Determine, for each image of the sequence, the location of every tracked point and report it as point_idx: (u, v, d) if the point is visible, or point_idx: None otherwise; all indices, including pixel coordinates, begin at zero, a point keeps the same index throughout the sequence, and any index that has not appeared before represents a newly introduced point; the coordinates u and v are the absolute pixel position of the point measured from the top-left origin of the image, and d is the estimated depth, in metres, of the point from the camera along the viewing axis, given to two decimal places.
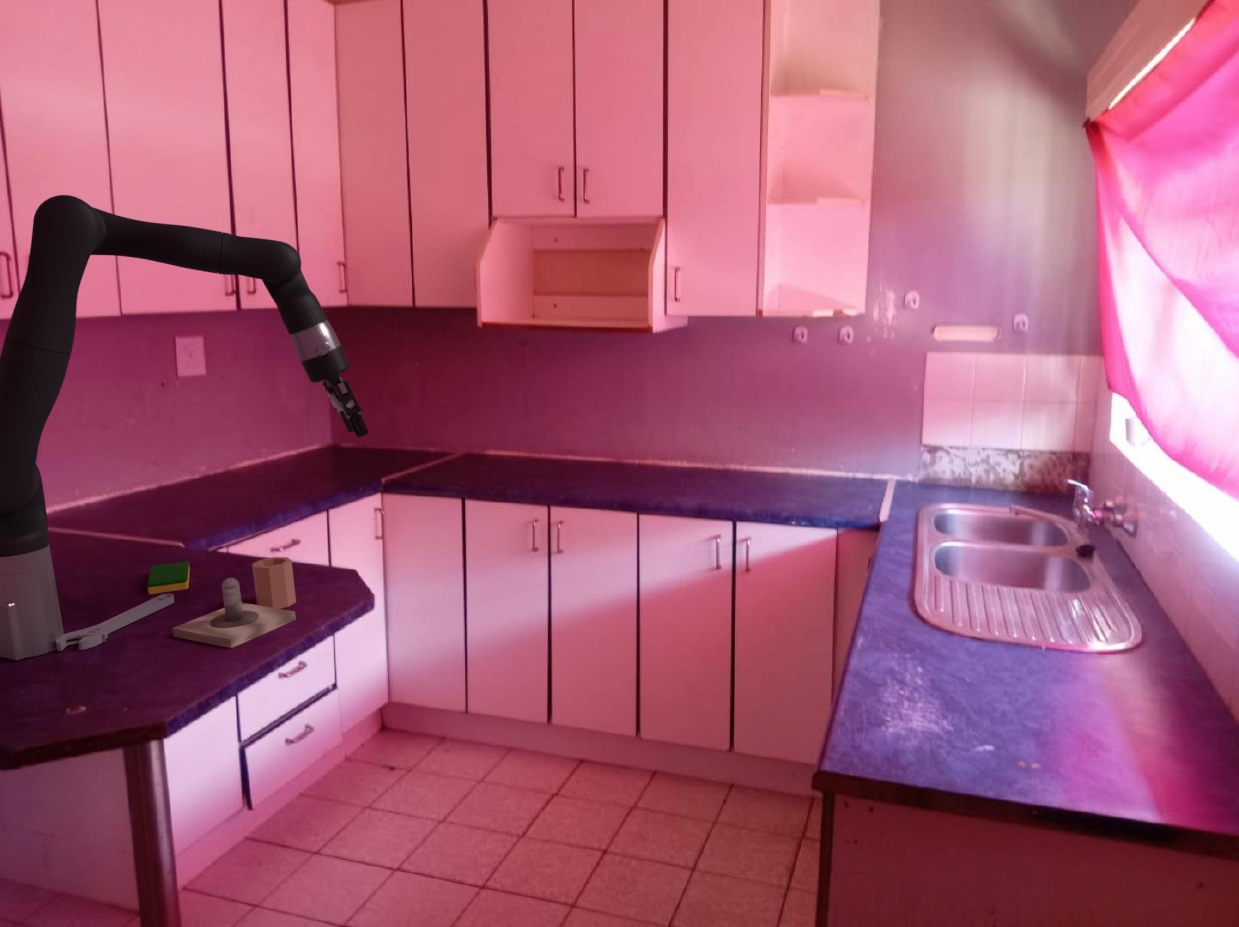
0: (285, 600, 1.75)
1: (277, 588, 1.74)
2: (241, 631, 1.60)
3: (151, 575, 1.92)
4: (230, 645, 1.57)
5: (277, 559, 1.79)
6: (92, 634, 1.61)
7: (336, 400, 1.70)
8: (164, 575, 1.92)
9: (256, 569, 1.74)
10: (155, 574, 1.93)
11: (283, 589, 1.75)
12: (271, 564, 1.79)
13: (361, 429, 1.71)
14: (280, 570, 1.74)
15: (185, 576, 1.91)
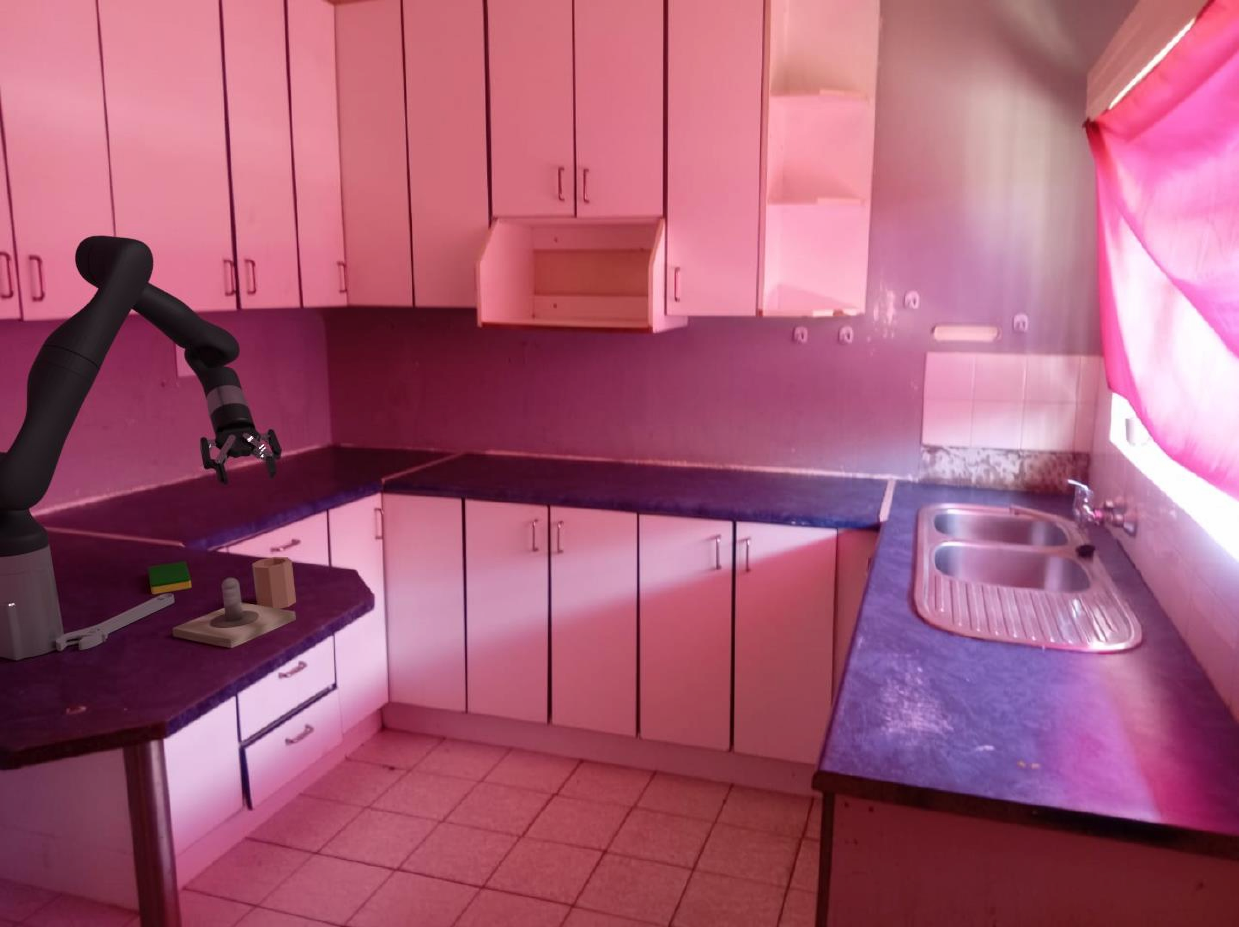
0: (285, 600, 1.75)
1: (277, 588, 1.74)
2: (241, 631, 1.60)
3: (151, 575, 1.92)
4: (230, 645, 1.57)
5: (277, 559, 1.79)
6: (92, 634, 1.61)
7: None
8: (165, 575, 1.92)
9: (256, 569, 1.74)
10: (155, 574, 1.92)
11: (283, 589, 1.75)
12: (271, 564, 1.79)
13: None
14: (280, 570, 1.74)
15: (187, 575, 1.91)
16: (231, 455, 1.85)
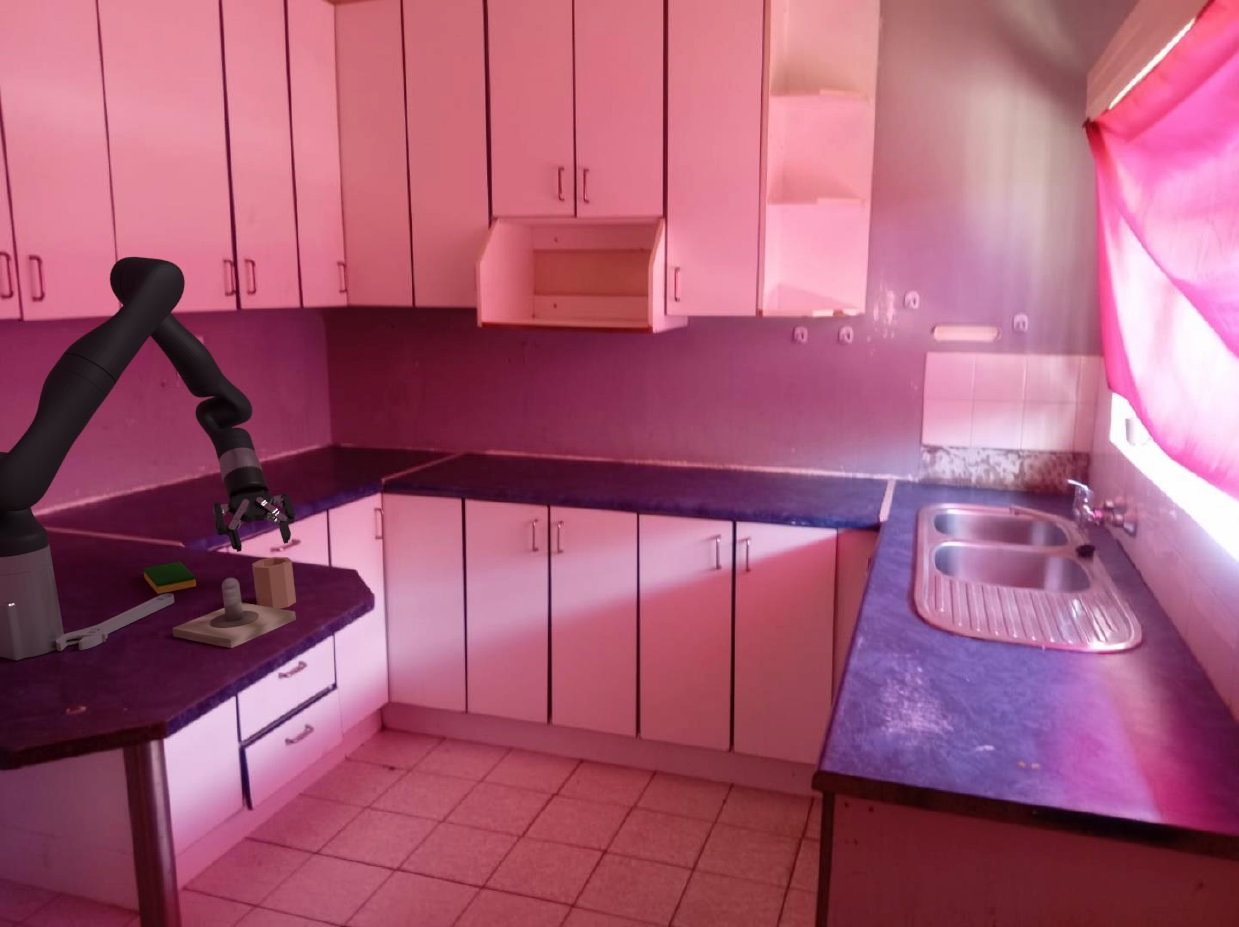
0: (285, 600, 1.75)
1: (277, 588, 1.74)
2: (241, 631, 1.60)
3: (152, 576, 1.92)
4: (230, 645, 1.57)
5: (277, 559, 1.79)
6: (92, 634, 1.61)
7: (271, 505, 1.84)
8: (167, 575, 1.92)
9: (256, 569, 1.74)
10: (156, 575, 1.92)
11: (283, 589, 1.75)
12: (271, 564, 1.79)
13: None
14: (280, 570, 1.74)
15: (191, 574, 1.92)
16: (244, 520, 1.83)
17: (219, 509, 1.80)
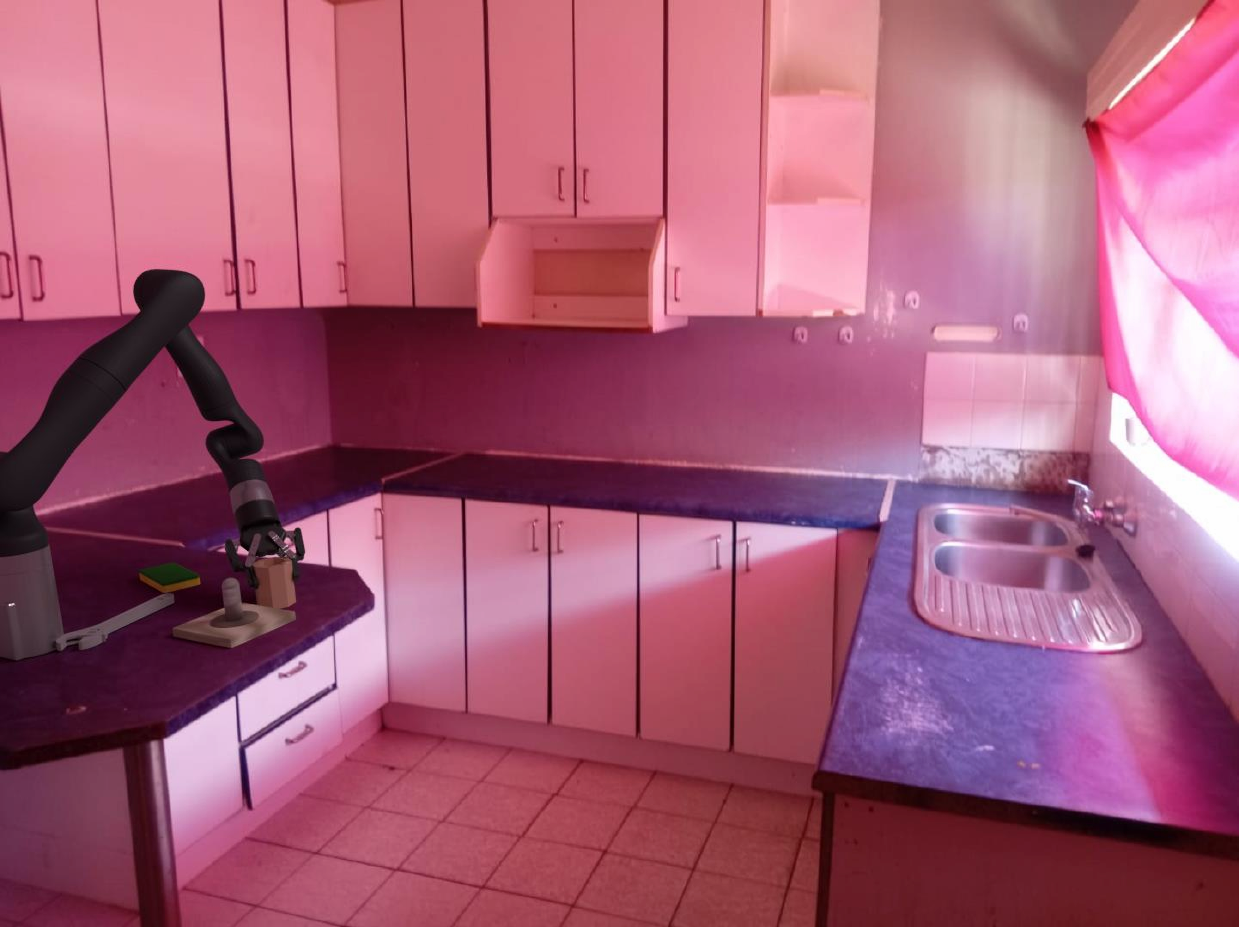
0: (285, 600, 1.75)
1: (277, 588, 1.74)
2: (241, 631, 1.60)
3: (153, 576, 1.91)
4: (230, 645, 1.57)
5: (277, 559, 1.79)
6: (92, 634, 1.61)
7: None
8: (168, 575, 1.92)
9: (256, 569, 1.74)
10: (156, 575, 1.92)
11: (283, 589, 1.75)
12: (271, 564, 1.79)
13: None
14: (280, 570, 1.74)
15: (194, 573, 1.93)
16: (259, 555, 1.78)
17: (232, 546, 1.76)
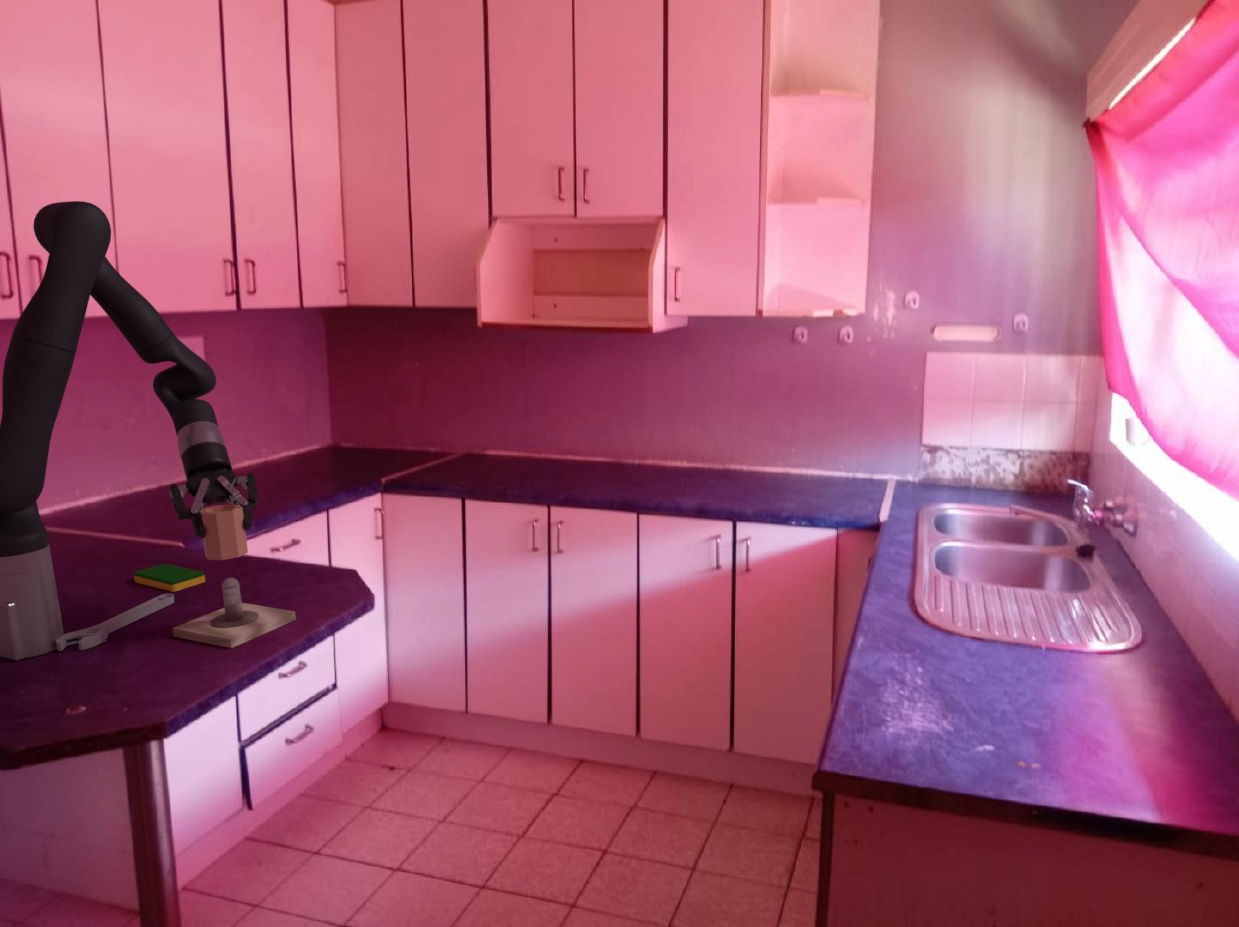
0: (235, 550, 1.61)
1: (225, 537, 1.60)
2: (241, 631, 1.60)
3: (155, 577, 1.91)
4: (230, 645, 1.57)
5: (227, 506, 1.64)
6: (92, 634, 1.61)
7: (233, 487, 1.65)
8: (171, 574, 1.92)
9: (203, 515, 1.59)
10: (158, 575, 1.92)
11: (233, 538, 1.61)
12: (221, 512, 1.64)
13: None
14: (229, 517, 1.60)
15: (197, 571, 1.94)
16: (207, 501, 1.64)
17: (177, 491, 1.61)
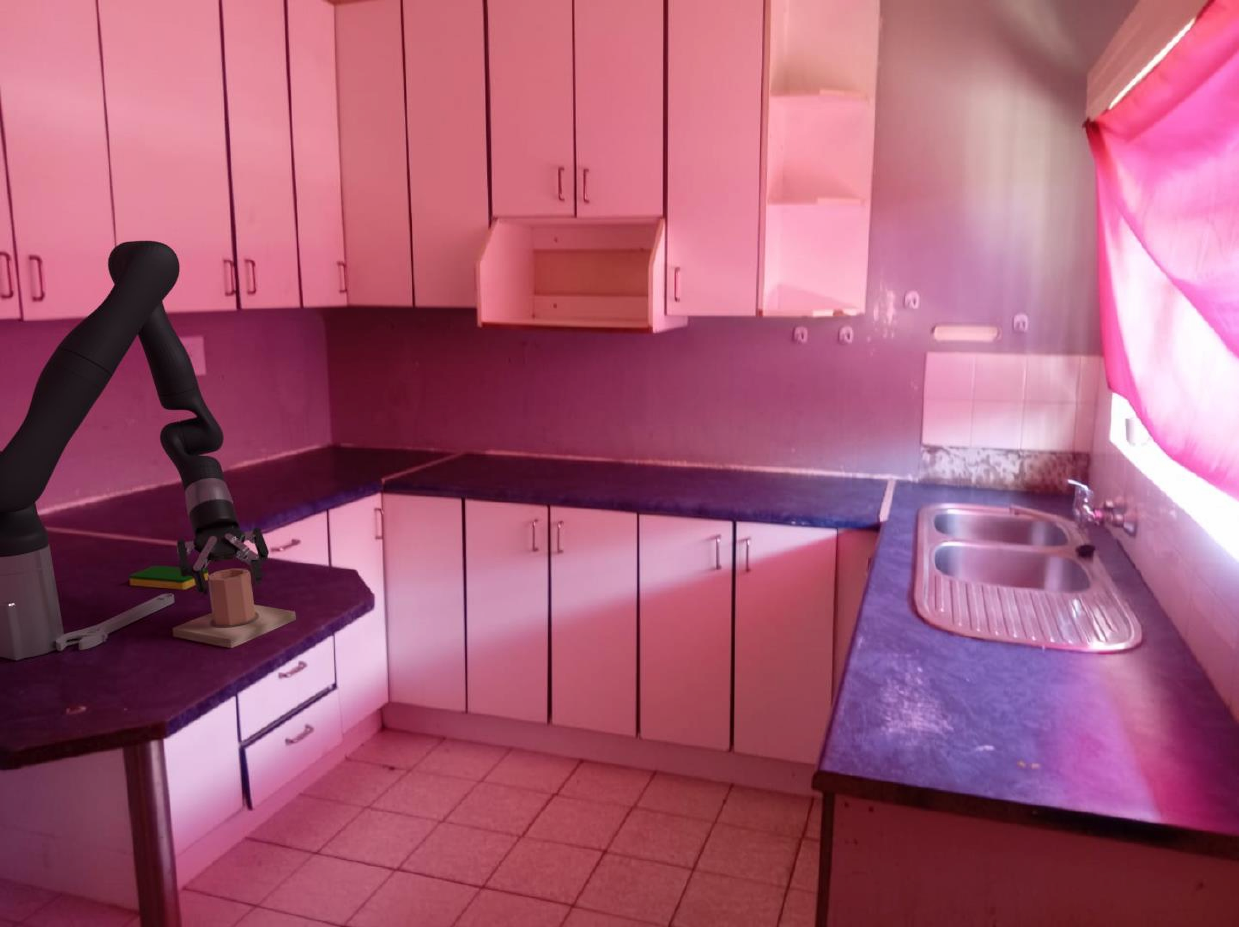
0: (243, 615, 1.63)
1: (234, 602, 1.62)
2: (241, 631, 1.60)
3: (159, 577, 1.91)
4: (230, 645, 1.57)
5: (235, 571, 1.66)
6: (92, 634, 1.61)
7: (241, 543, 1.67)
8: (173, 573, 1.93)
9: (211, 582, 1.61)
10: (160, 576, 1.91)
11: (240, 603, 1.63)
12: (229, 576, 1.66)
13: None
14: (237, 583, 1.62)
15: None
16: (212, 559, 1.65)
17: (183, 547, 1.63)
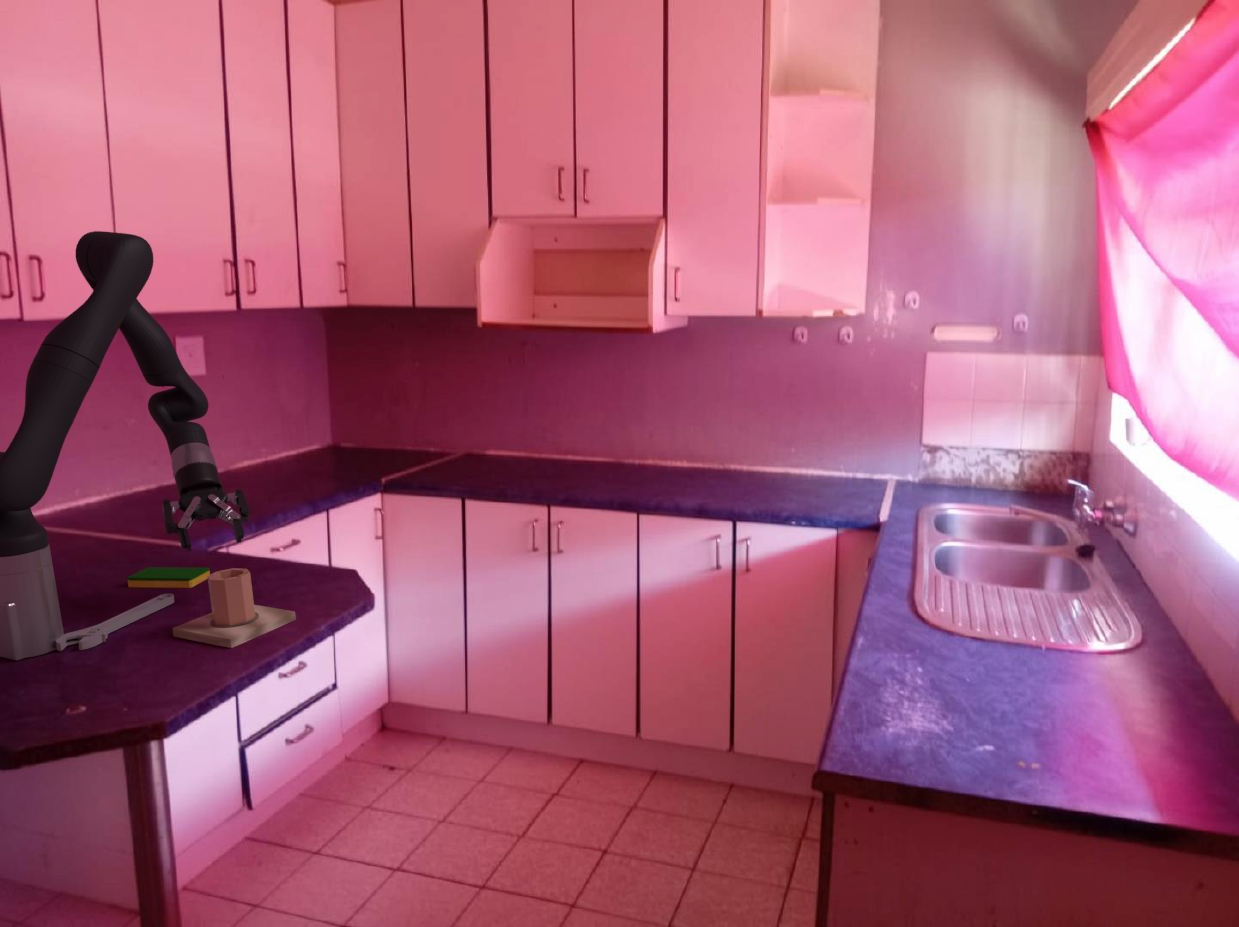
0: (243, 615, 1.63)
1: (234, 602, 1.62)
2: (241, 631, 1.60)
3: (162, 577, 1.91)
4: (230, 645, 1.57)
5: (235, 571, 1.66)
6: (92, 634, 1.61)
7: (224, 503, 1.77)
8: (175, 573, 1.93)
9: (211, 582, 1.61)
10: (162, 575, 1.91)
11: (240, 603, 1.63)
12: (229, 576, 1.66)
13: None
14: (237, 583, 1.62)
15: None
16: (196, 518, 1.75)
17: (168, 506, 1.73)
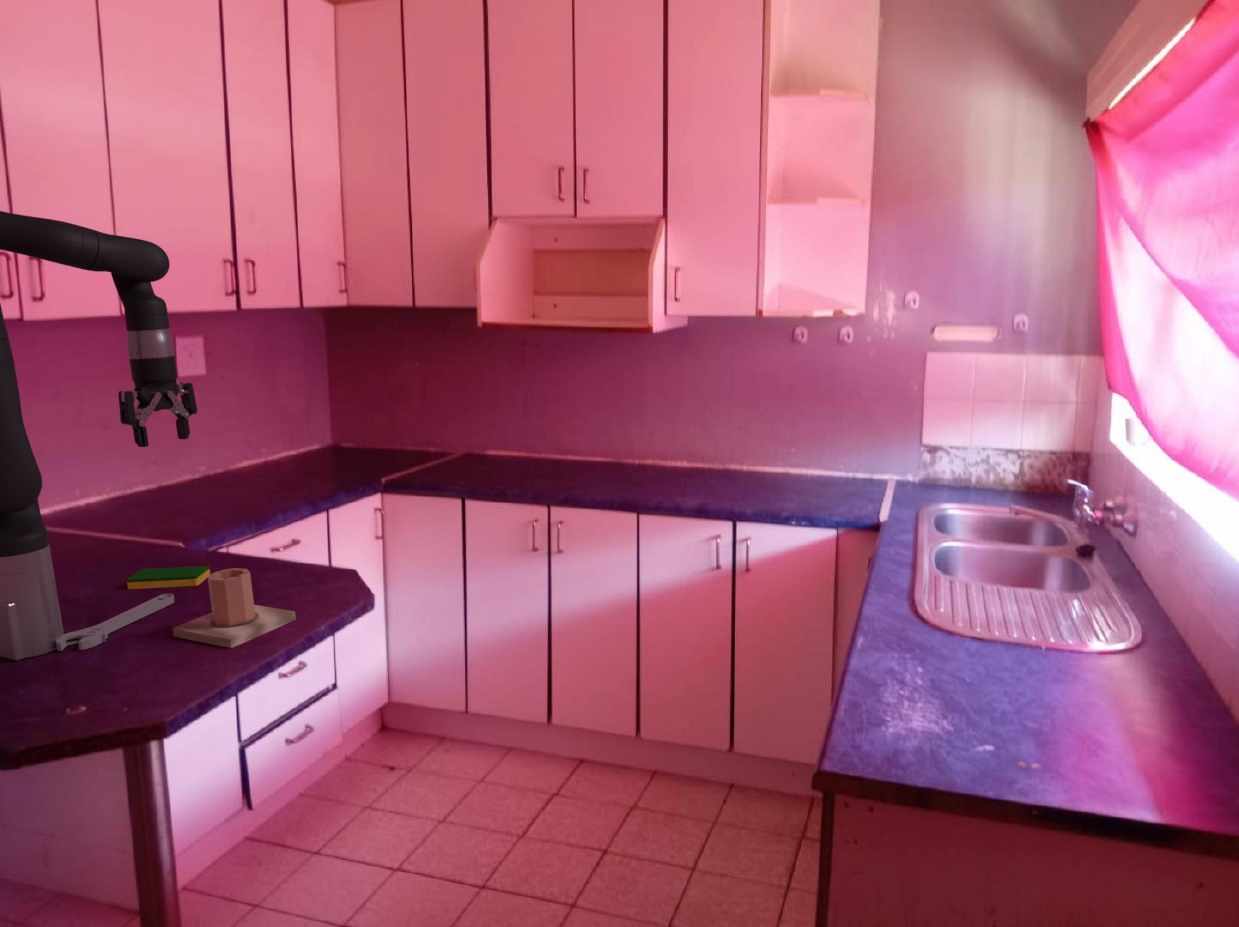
0: (243, 615, 1.63)
1: (234, 602, 1.62)
2: (241, 631, 1.60)
3: (165, 576, 1.91)
4: (230, 645, 1.57)
5: (235, 571, 1.66)
6: (92, 634, 1.61)
7: (178, 400, 1.78)
8: (177, 572, 1.93)
9: (211, 582, 1.61)
10: (165, 575, 1.91)
11: (240, 603, 1.63)
12: (229, 576, 1.66)
13: None
14: (237, 583, 1.62)
15: (198, 566, 1.97)
16: None
17: (132, 400, 1.70)
